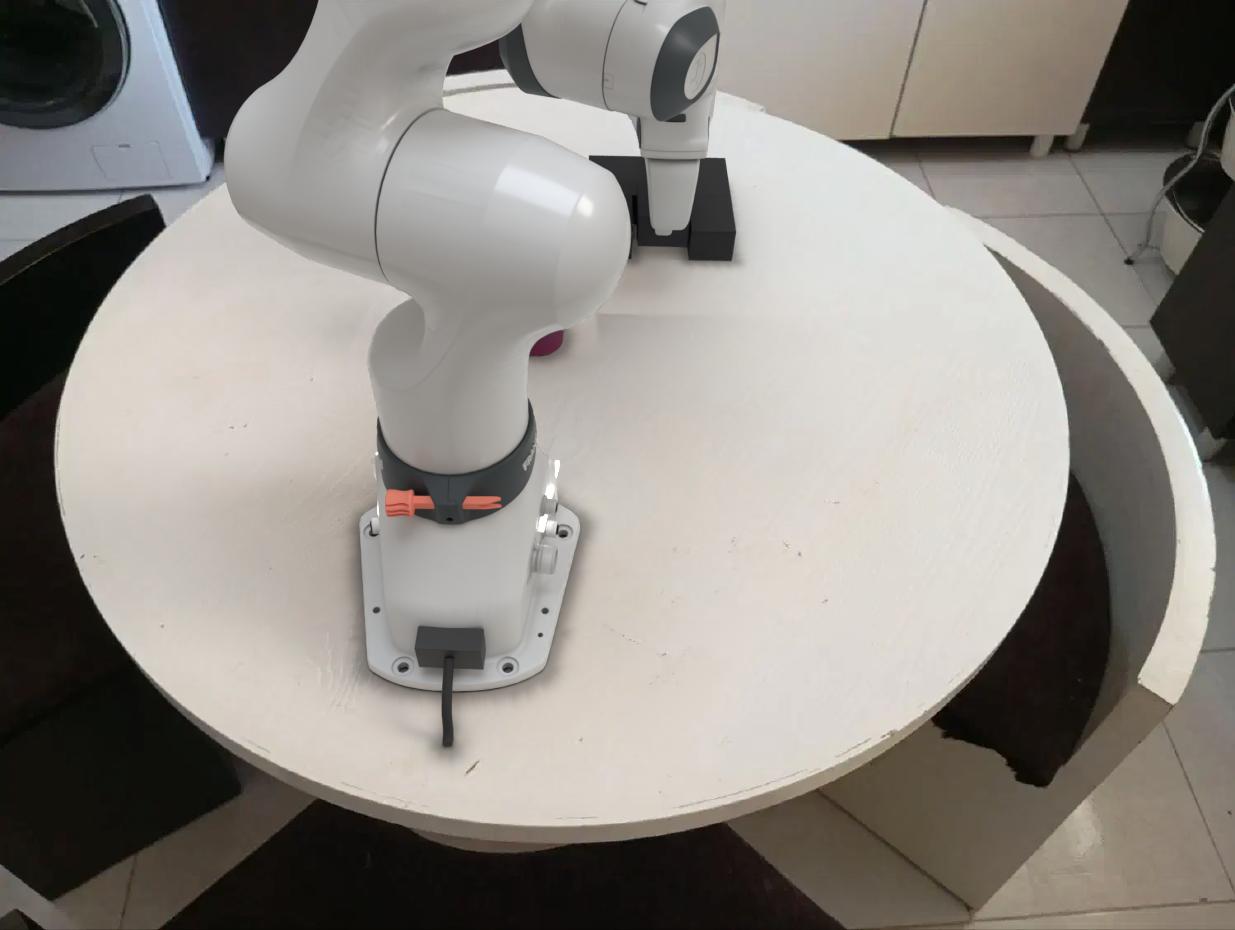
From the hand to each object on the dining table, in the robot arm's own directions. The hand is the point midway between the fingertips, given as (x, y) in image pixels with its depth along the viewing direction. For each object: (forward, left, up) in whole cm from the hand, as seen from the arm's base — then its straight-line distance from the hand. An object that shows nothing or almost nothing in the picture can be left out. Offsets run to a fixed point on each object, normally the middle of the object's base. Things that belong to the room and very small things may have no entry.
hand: (661, 212), depth 109 cm
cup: (-16, +13, -4) cm, 21 cm away
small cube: (0, 0, -3) cm, 3 cm away
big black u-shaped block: (+4, 0, -4) cm, 6 cm away
